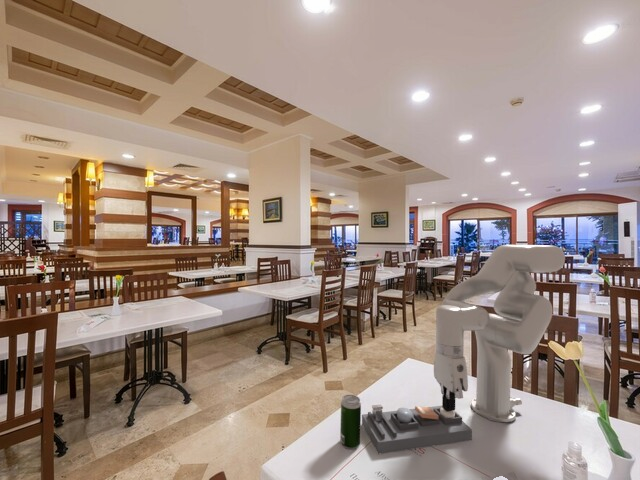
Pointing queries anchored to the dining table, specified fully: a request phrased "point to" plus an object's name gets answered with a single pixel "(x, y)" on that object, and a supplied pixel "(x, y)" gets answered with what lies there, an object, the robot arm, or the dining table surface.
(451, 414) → the white dome button
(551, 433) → the dining table surface
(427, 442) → the switch panel
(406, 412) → the grey dome
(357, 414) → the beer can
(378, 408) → the slide paddle
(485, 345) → the robot arm
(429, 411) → the rocker switch
